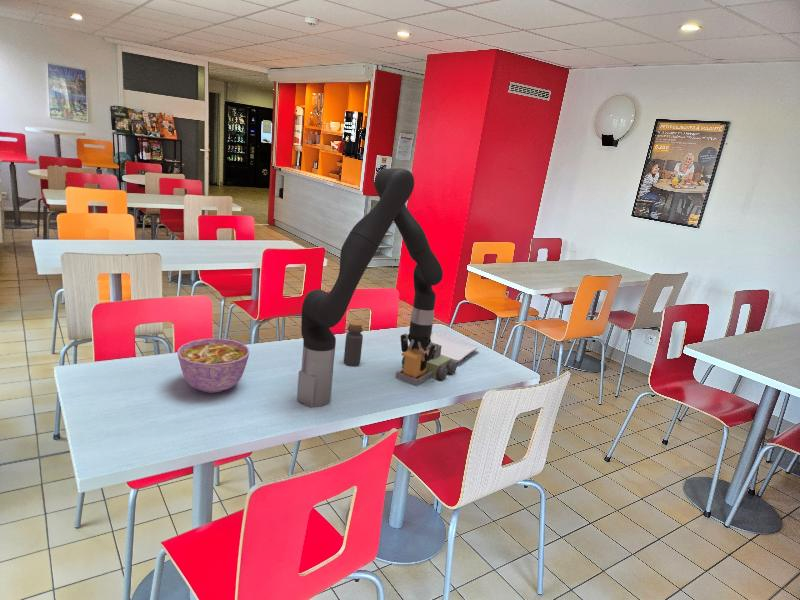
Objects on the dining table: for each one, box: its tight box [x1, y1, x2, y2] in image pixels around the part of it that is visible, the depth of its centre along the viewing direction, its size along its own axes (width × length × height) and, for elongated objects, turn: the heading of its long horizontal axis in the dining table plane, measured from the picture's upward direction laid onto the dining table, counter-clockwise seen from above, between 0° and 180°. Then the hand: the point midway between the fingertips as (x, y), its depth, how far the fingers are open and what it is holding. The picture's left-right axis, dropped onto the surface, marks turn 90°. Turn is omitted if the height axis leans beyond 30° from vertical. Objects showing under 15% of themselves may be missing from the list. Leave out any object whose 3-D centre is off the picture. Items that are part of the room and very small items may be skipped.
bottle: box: [343, 320, 364, 367], centre depth 186 cm, size 6×6×15 cm
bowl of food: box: [177, 338, 251, 394], centre depth 157 cm, size 20×20×12 cm
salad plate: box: [430, 331, 479, 364], centre depth 209 cm, size 21×21×3 cm
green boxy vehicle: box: [395, 343, 458, 387], centre depth 186 cm, size 20×16×9 cm
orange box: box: [401, 349, 429, 378], centre depth 180 cm, size 10×5×8 cm, turn 146°
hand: (415, 367), depth 181 cm, fingers closed on orange box, 5 cm apart
